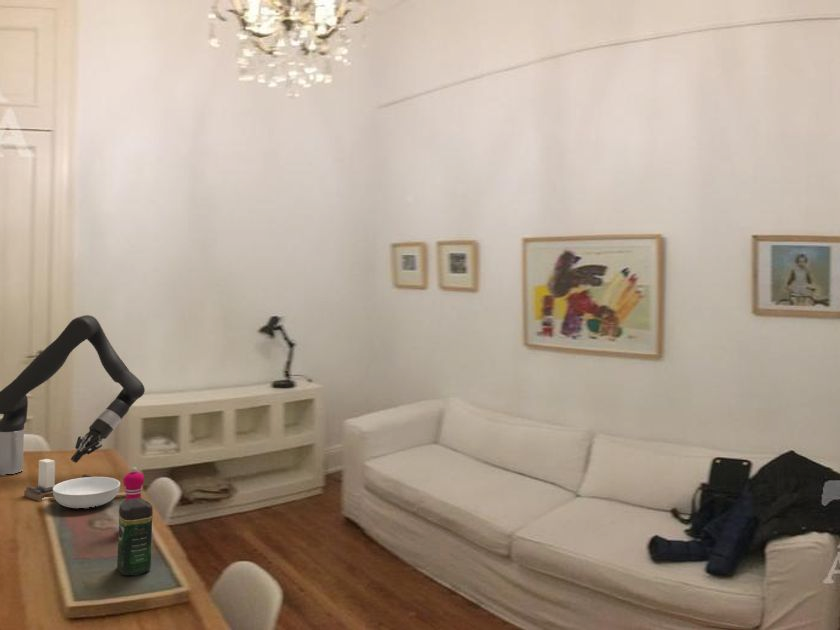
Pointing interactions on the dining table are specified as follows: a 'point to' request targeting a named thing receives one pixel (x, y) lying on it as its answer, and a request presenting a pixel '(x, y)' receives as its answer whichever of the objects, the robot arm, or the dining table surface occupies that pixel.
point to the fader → (46, 475)
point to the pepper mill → (133, 484)
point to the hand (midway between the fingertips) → (73, 461)
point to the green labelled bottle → (134, 536)
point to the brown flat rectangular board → (41, 492)
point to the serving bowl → (86, 491)
